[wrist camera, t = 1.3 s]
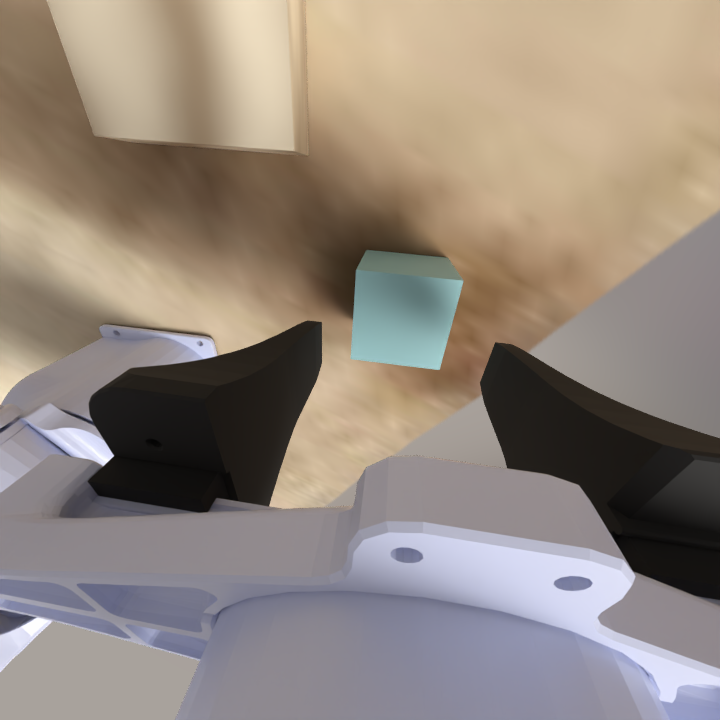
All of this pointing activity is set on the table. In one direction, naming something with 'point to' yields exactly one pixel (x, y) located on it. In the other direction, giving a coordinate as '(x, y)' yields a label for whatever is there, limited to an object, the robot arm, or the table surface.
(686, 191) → the table surface
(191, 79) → the birch base
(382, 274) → the teal block
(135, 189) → the table surface
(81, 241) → the table surface
